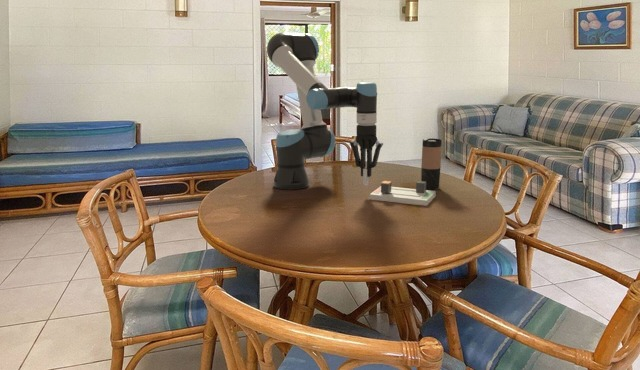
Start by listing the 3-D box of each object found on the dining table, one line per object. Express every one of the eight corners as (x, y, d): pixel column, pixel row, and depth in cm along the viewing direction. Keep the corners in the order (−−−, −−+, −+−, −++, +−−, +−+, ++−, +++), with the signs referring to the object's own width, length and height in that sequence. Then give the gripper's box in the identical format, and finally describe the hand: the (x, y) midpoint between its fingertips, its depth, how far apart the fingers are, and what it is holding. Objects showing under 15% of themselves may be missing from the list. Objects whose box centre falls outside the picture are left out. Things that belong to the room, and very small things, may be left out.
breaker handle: (380, 192, 186) (381, 182, 185) (383, 190, 189) (384, 180, 188) (388, 193, 184) (388, 183, 183) (391, 191, 188) (391, 181, 187)
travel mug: (439, 190, 197) (442, 141, 192) (420, 189, 198) (422, 141, 194) (439, 185, 204) (441, 138, 199) (420, 185, 206) (422, 138, 201)
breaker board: (369, 199, 186) (369, 184, 185) (381, 190, 198) (381, 176, 197) (426, 205, 177) (427, 190, 175) (435, 196, 189) (436, 181, 187)
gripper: (346, 124, 183) (346, 185, 189) (379, 126, 178) (378, 188, 184) (354, 122, 190) (354, 181, 196) (386, 123, 184) (385, 184, 190)
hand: (366, 184), depth 190 cm, fingers closed
